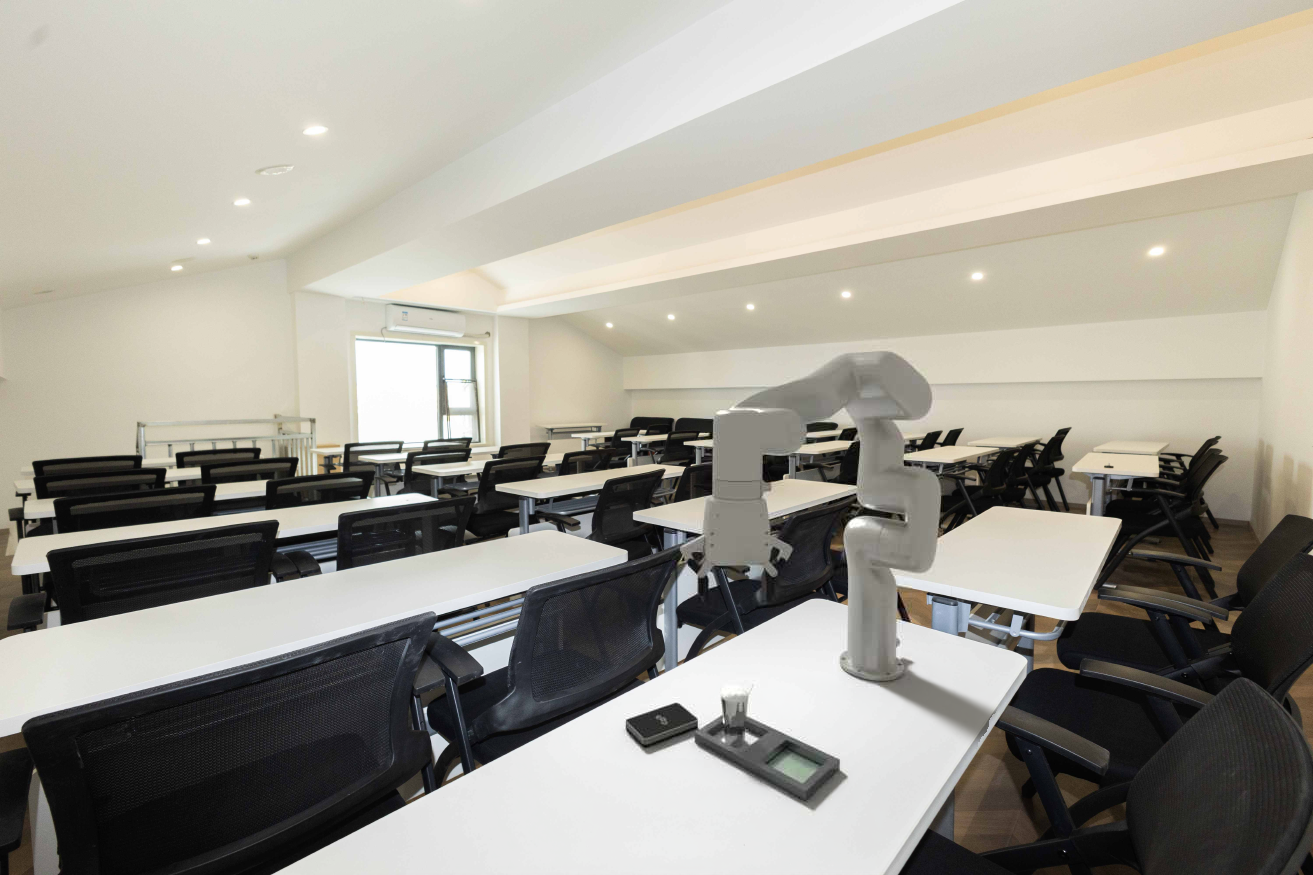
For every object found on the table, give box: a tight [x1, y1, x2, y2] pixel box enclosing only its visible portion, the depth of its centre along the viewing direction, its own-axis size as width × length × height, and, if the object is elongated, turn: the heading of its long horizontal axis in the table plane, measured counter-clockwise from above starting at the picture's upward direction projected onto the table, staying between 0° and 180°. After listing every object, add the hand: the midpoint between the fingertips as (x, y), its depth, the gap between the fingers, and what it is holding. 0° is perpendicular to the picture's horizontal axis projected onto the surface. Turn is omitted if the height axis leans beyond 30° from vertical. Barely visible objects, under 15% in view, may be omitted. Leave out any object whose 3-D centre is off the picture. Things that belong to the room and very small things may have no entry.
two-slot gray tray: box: [694, 714, 841, 803], centre depth 94 cm, size 10×21×2 cm, turn 45°
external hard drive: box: [625, 702, 699, 749], centre depth 102 cm, size 7×11×2 cm, turn 121°
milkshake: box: [720, 684, 754, 747], centre depth 97 cm, size 4×5×10 cm
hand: (735, 599), depth 91 cm, fingers open, 9 cm apart
